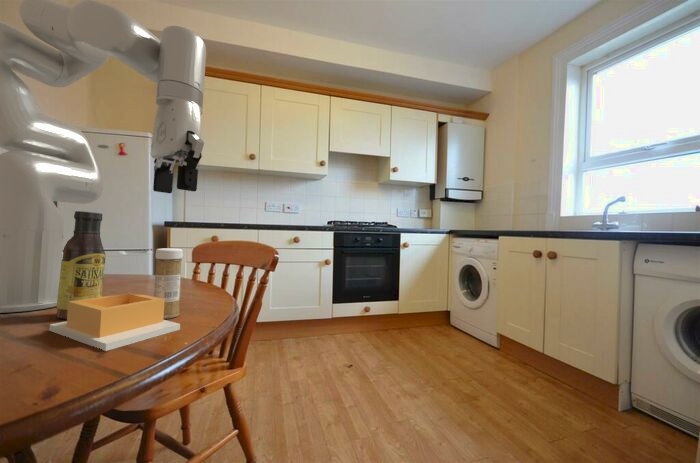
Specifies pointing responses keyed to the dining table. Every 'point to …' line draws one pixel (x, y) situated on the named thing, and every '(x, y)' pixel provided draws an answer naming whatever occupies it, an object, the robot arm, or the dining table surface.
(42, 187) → the robot arm
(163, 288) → the sprinkles bottle
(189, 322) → the dining table surface
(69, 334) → the socket base
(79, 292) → the sauce bottle
